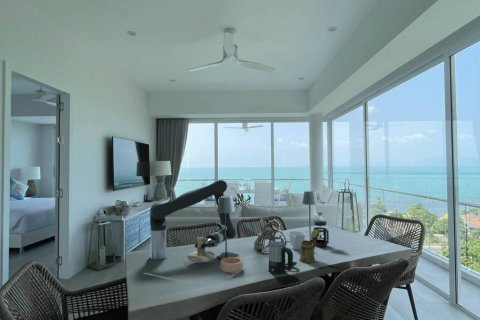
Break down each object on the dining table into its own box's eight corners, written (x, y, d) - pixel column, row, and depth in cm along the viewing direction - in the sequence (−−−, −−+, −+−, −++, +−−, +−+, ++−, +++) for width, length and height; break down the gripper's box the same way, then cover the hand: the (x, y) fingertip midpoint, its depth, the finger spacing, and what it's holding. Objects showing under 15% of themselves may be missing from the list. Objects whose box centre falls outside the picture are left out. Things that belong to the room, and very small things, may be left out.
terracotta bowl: (226, 275, 139) (226, 265, 139) (218, 268, 149) (218, 259, 149) (245, 271, 144) (245, 262, 145) (236, 264, 154) (236, 255, 155)
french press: (309, 245, 192) (309, 212, 193) (318, 243, 197) (318, 211, 198) (323, 249, 182) (323, 214, 183) (332, 246, 188) (331, 213, 188)
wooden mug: (324, 260, 161) (323, 229, 161) (306, 264, 155) (305, 232, 155) (313, 256, 169) (313, 226, 169) (296, 259, 163) (296, 229, 163)
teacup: (285, 251, 179) (285, 235, 179) (290, 244, 193) (290, 230, 193) (304, 253, 175) (303, 237, 175) (307, 246, 188) (307, 232, 189)
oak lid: (204, 263, 144) (205, 242, 144) (182, 259, 150) (182, 238, 151) (219, 255, 157) (219, 235, 157) (198, 251, 164) (198, 232, 164)
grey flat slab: (190, 273, 142) (190, 271, 142) (182, 263, 157) (182, 262, 157) (222, 267, 151) (222, 265, 151) (211, 258, 165) (211, 257, 165)
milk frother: (265, 273, 142) (265, 244, 142) (273, 263, 156) (272, 237, 157) (293, 277, 137) (293, 247, 137) (298, 266, 152) (297, 239, 152)
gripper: (205, 231, 170) (188, 238, 155) (224, 234, 164) (209, 241, 148) (205, 243, 170) (188, 251, 154) (224, 246, 163) (208, 255, 148)
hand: (198, 246), depth 151 cm, fingers closed on oak lid, 3 cm apart
